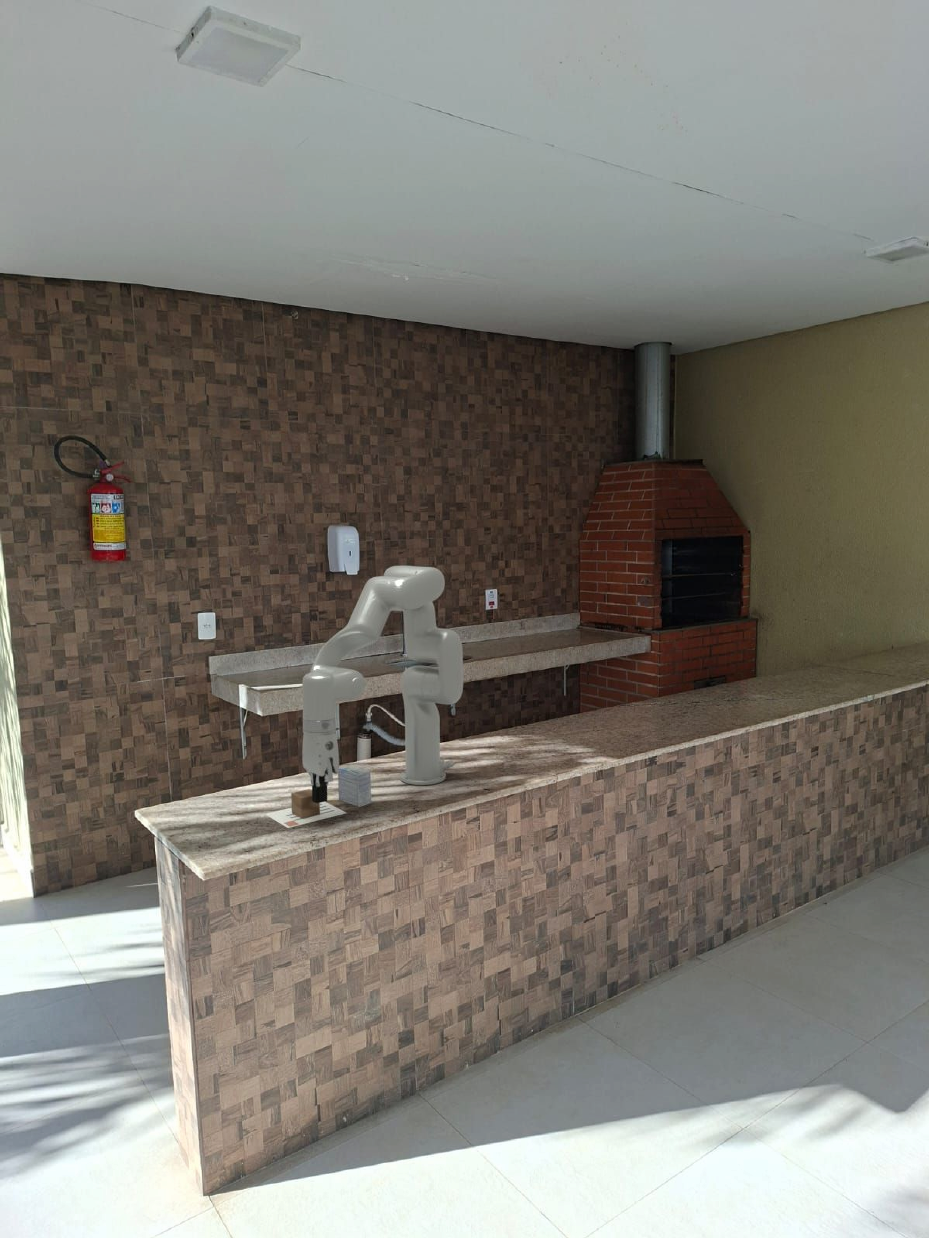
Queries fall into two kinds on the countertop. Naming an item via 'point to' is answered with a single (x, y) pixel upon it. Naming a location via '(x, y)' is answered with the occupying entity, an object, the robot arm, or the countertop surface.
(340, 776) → the medicine box
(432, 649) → the robot arm
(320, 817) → the letter
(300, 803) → the walnut block
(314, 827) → the countertop surface
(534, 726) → the countertop surface
